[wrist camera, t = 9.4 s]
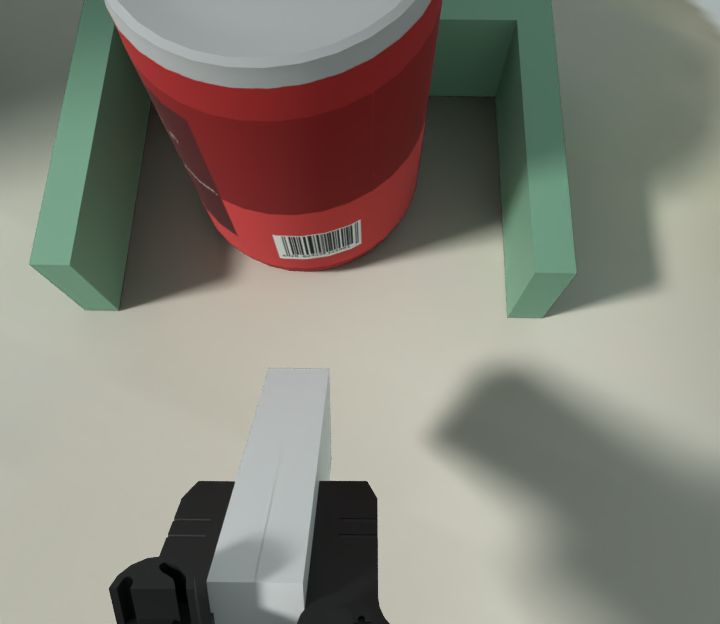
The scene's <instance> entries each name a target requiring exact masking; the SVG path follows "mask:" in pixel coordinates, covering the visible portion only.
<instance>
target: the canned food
mask: <svg viewBox="0 0 720 624" xmlns="http://www.w3.org/2000/svg"><path fill="white" fill-rule="evenodd" d="M104 1H105V5H106V8H107V10H108V12H109V14H110V16H111V18H112V20H113V22H114V24H115V26H116V28H117V30H118V32H119V34H120V37H121V40H122V42H123V45H124V47H125V49H126V51H127V53H128V55H129V57H130V59H131V61H132V63H133V65H134V67H135V68H136V70H137V72H138V74H139V76H140V78H141V80H142V82H143V84H144V86H145V88H146V90H147V92H148V94H149V96H150V98H151V100H152V102H153V104H154V106H155V108H156V110H157V112H158V114H159V116H160V118H161V120H162V122H163V124H164V126H165V128H166V130H167V132H168V134H169V136H170V138H171V140H172V142H173V144H174V146H175V148H176V150H177V152H178V154H179V156H180V158H181V160H182V162H183V164H184V166H185V168H186V170H187V172H188V174H189V176H190V178H191V180H192V182H193V184H194V186H195V188H196V190H197V192H198V194H199V196H200V198H201V200H202V202H203V204H204V206H205V208H206V210H207V212H208V214H209V216H210V218H211V219H212V221H213V223H214V225H215V227H216V229H217V230H218V231H219V232H220V233H221V234H222V235H223V236H224V237H225V239H226V240H227V241H228V242H229V243H230V244H232V245H233V246H234V247H236V248H237V249H239V250H240V251H241V252H243V253H244V254H246V255H247V256H249V257H251V258H253V259H255V260H258V261H260V262H262V263H264V264H267V265H269V266H272V267H276V268H281V269H285V270H289V271H316V270H324V269H330V268H334V267H337V266H340V265H343V264H346V263H349V262H351V261H353V260H355V259H357V258H359V257H360V256H362V255H364V254H366V253H368V252H369V251H370V250H372V249H373V248H374V247H375V246H377V245H378V244H379V243H380V242H382V241H383V240H384V239H385V237H386V236H387V235H388V234H389V233H390V232H391V231H392V229H393V228H394V227H395V226H396V225H397V224H398V222H399V221H400V220H401V219H402V217H403V215H404V214H405V212H406V210H407V208H408V206H409V205H410V203H411V200H412V197H413V194H414V191H415V187H416V184H417V177H418V170H419V163H420V156H421V149H422V142H423V135H424V128H425V121H426V113H427V106H428V99H429V92H430V85H431V78H432V71H433V64H434V57H435V50H436V43H437V35H438V28H439V21H440V14H441V7H442V0H104Z"/></svg>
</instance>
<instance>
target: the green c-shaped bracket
mask: <svg viewBox="0 0 720 624" xmlns="http://www.w3.org/2000/svg"><path fill="white" fill-rule="evenodd" d="M429 96H487V97H495V98H496V117H497V135H498V154H499V172H500V190H501V209H502V227H503V246H504V264H505V282H506V301H507V318H543V316H544V315H545V314H546V312H547V311H548V310H549V309H550V307H551V306H552V305H553V303H554V302H555V301H556V300H557V298H558V297H559V296H560V294H561V293H562V292H563V290H564V289H565V288H566V287H567V285H568V284H569V283H570V281H571V280H572V279H573V278H574V276H575V275H576V274H577V271H576V261H575V250H574V239H573V229H572V218H571V207H570V197H569V186H568V175H567V165H566V154H565V143H564V133H563V122H562V111H561V101H560V90H559V79H558V69H557V58H556V47H555V37H554V26H553V15H552V5H551V0H442V7H441V14H440V21H439V28H438V35H437V43H436V50H435V57H434V64H433V71H432V78H431V85H430V92H429ZM150 106H151V98H150V96H149V94H148V92H147V90H146V88H145V86H144V84H143V82H142V80H141V78H140V76H139V74H138V72H137V70H136V68H135V67H134V65H133V63H132V61H131V59H130V57H129V55H128V53H127V51H126V49H125V47H124V45H123V42H122V40H121V37H120V34H119V32H118V30H117V28H116V26H115V24H114V22H113V20H112V18H111V16H110V14H109V12H108V10H107V8H106V5H105V1H104V0H84V3H83V8H82V13H81V18H80V23H79V27H78V32H77V37H76V42H75V47H74V51H73V56H72V61H71V66H70V71H69V75H68V80H67V85H66V90H65V95H64V99H63V104H62V109H61V114H60V118H59V123H58V128H57V133H56V138H55V142H54V147H53V152H52V157H51V162H50V166H49V171H48V176H47V181H46V186H45V190H44V195H43V200H42V205H41V210H40V214H39V219H38V224H37V229H36V233H35V238H34V243H33V248H32V253H31V257H30V262H29V265H30V266H32V267H33V268H34V269H35V270H36V271H38V272H39V273H40V274H41V275H43V276H44V277H45V278H46V279H48V280H49V281H50V282H51V283H52V284H54V285H55V286H56V287H57V288H59V289H60V290H61V291H62V292H63V293H65V294H66V295H67V296H68V297H70V298H71V299H72V300H73V301H75V302H76V303H77V304H78V305H79V306H81V307H82V308H83V309H84V310H113V311H119V306H120V300H121V293H122V287H123V280H124V274H125V267H126V261H127V254H128V248H129V242H130V235H131V229H132V222H133V216H134V209H135V203H136V196H137V190H138V183H139V177H140V171H141V164H142V158H143V151H144V145H145V138H146V132H147V125H148V119H149V113H150Z"/></svg>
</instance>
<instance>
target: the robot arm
mask: <svg viewBox="0 0 720 624" xmlns="http://www.w3.org/2000/svg"><path fill="white" fill-rule="evenodd" d="M331 459H332V458H331V420H330V383H329V369H319V368H268V371H267V374H266V378H265V381H264V385H263V388H262V392H261V395H260V398H259V402H258V405H257V409H256V412H255V416H254V419H253V423H252V426H251V430H250V433H249V436H248V440H247V443H246V447H245V450H244V454H243V457H242V461H241V464H240V467H239V471H238V474H237V478H236V481H235V482H232V481H198V482H197V483H196V484H195V485H194V486H193V487H192V488H191V489H190V490H189V491H188V492H187V493H186V494H185V495H184V497H183V498H182V499H181V502H180V505H179V507H178V510H177V512H176V515H175V517H174V518H175V519H174V521H173V523H172V525H171V528H170V530H169V533H168V537H167V538H166V541H165V543H164V546H163V548H162V551H161V553H160V556H159V557H153V558H147V559H144V560H142V561H140V562H137V563H135V564H133V565H131V566H129V567H128V568H127V569H125V570H124V571H123V572H122V573H120V574H119V575H118V576H117V577H116V579H115V580H114V582H113V583H112V584H111V586H110V587H109V591H110V596H111V600H112V604H113V609H114V613H115V617H116V622H117V624H389V622H388V621H387V620H386V619H385V618H384V616H383V614H382V612H381V609H380V607H379V601H378V538H377V497H376V496H375V494H374V492H373V490H372V489H371V487H370V485H369V484H368V482H367V481H329V480H330V469H331Z"/></svg>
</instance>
